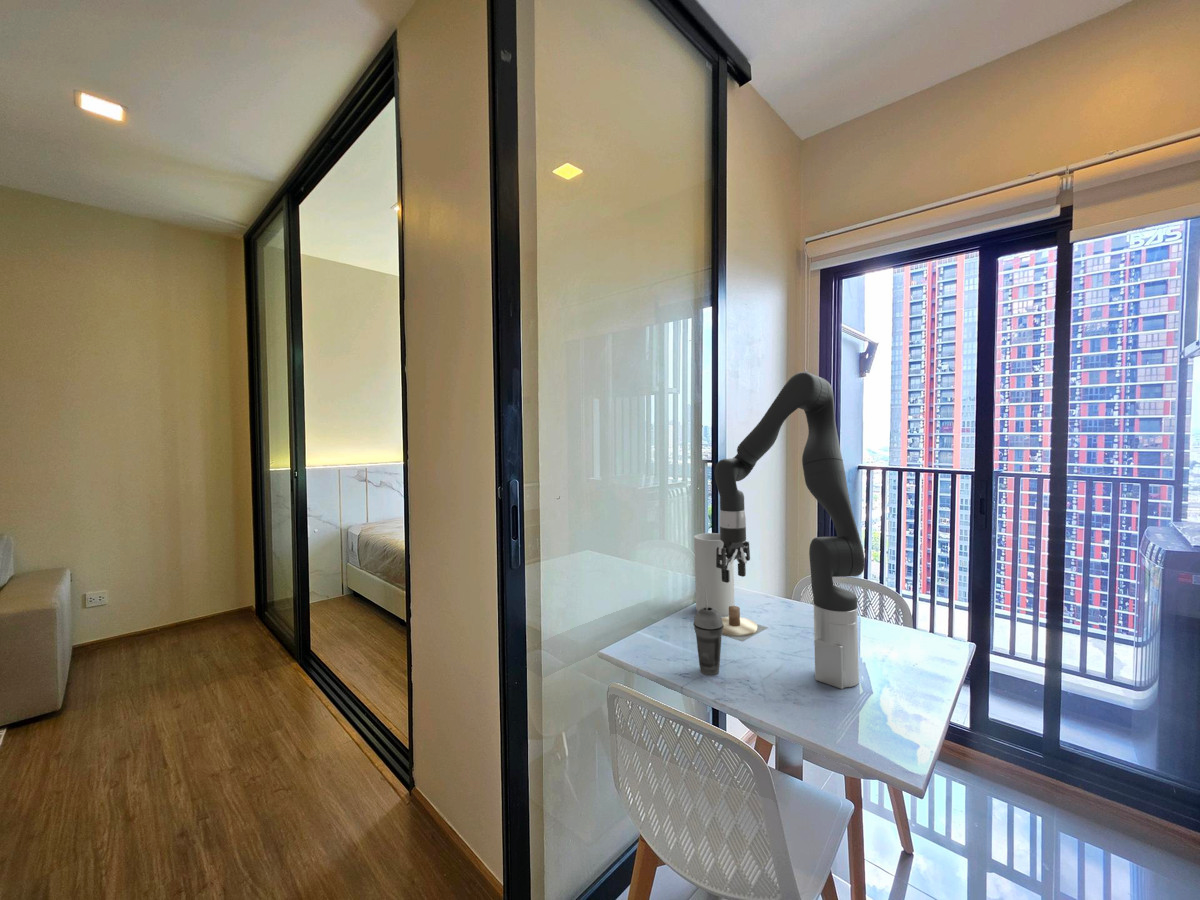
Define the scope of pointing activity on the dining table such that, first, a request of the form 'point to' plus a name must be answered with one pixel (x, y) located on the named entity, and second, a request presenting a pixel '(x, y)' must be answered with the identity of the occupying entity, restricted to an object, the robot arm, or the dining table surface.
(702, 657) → the beverage cup
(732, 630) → the lid
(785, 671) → the dining table surface
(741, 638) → the mat
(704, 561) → the cylinder vase
